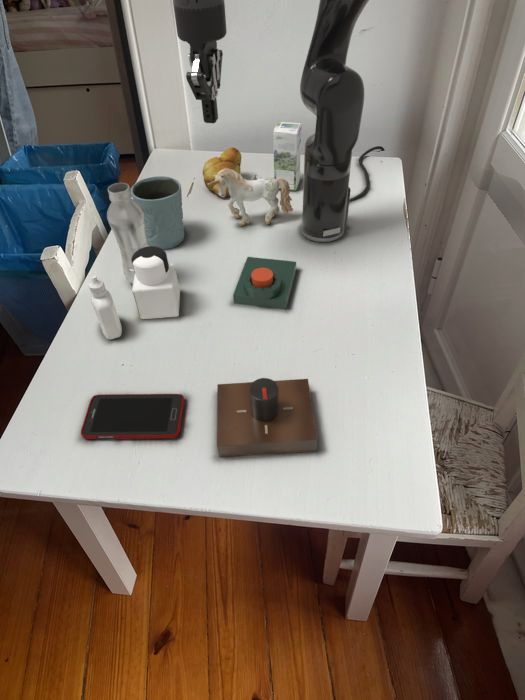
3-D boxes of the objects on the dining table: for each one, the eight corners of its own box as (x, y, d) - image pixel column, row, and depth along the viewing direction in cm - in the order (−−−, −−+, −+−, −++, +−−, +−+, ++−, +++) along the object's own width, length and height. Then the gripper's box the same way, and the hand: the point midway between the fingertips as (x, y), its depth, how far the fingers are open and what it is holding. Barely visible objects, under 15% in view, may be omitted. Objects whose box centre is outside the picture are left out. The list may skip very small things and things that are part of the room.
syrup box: (300, 180, 123) (302, 121, 112) (296, 191, 119) (297, 132, 108) (278, 178, 124) (278, 120, 113) (273, 189, 120) (272, 130, 109)
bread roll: (239, 200, 117) (237, 168, 111) (199, 200, 118) (195, 169, 112) (243, 174, 126) (241, 144, 120) (206, 174, 126) (202, 144, 120)
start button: (254, 273, 92) (253, 266, 90) (275, 276, 91) (274, 268, 90) (249, 287, 89) (249, 279, 88) (270, 289, 88) (270, 282, 87)
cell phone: (179, 439, 71) (178, 435, 70) (80, 439, 72) (78, 436, 71) (185, 397, 76) (184, 393, 76) (93, 398, 77) (91, 394, 76)
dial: (249, 400, 72) (248, 378, 68) (276, 397, 72) (276, 375, 68) (252, 423, 69) (250, 400, 65) (280, 419, 70) (280, 397, 66)
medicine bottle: (143, 295, 94) (129, 243, 85) (180, 292, 94) (169, 240, 85) (140, 320, 89) (124, 267, 80) (179, 317, 89) (167, 264, 81)
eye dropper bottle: (128, 319, 89) (112, 267, 81) (119, 341, 86) (100, 288, 77) (105, 318, 90) (87, 266, 81) (95, 339, 86) (74, 287, 77)
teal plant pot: (134, 245, 105) (120, 195, 97) (157, 221, 112) (147, 172, 103) (174, 254, 103) (165, 204, 94) (196, 229, 109) (189, 179, 100)
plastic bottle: (153, 292, 94) (129, 199, 80) (121, 288, 96) (92, 195, 81) (164, 271, 99) (144, 180, 84) (133, 268, 100) (107, 177, 85)
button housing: (248, 265, 99) (247, 249, 96) (296, 270, 98) (296, 254, 95) (233, 305, 91) (231, 288, 88) (285, 311, 90) (285, 295, 87)
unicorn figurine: (204, 224, 110) (196, 168, 100) (281, 204, 115) (281, 149, 105) (214, 241, 106) (207, 184, 96) (294, 219, 111) (296, 163, 101)
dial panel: (307, 390, 77) (308, 377, 75) (316, 450, 69) (317, 438, 67) (219, 396, 77) (217, 383, 74) (218, 457, 69) (216, 445, 67)
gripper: (211, 11, 66) (222, 139, 78) (234, -11, 75) (241, 107, 87) (158, 11, 67) (178, 136, 80) (187, -11, 76) (201, 105, 88)
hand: (211, 121), depth 83 cm, fingers closed
